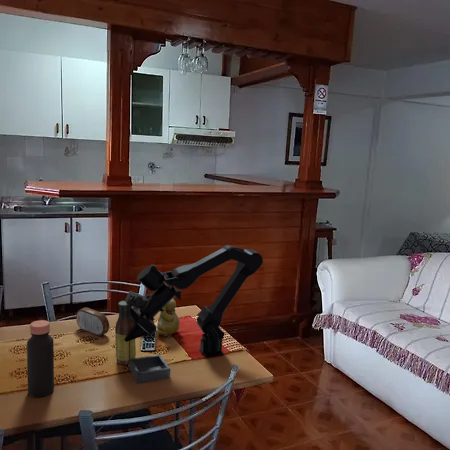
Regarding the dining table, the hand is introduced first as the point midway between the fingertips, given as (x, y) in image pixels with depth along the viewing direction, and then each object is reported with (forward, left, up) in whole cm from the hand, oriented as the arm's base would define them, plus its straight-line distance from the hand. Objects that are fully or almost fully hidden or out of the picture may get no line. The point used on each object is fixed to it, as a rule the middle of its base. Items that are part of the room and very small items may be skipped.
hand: (123, 334), depth 149 cm
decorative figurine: (-21, -17, -9) cm, 28 cm away
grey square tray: (-6, +10, -9) cm, 15 cm away
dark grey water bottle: (+25, +10, -9) cm, 29 cm away
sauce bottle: (-1, 0, -9) cm, 9 cm away
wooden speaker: (+5, -26, -9) cm, 28 cm away
